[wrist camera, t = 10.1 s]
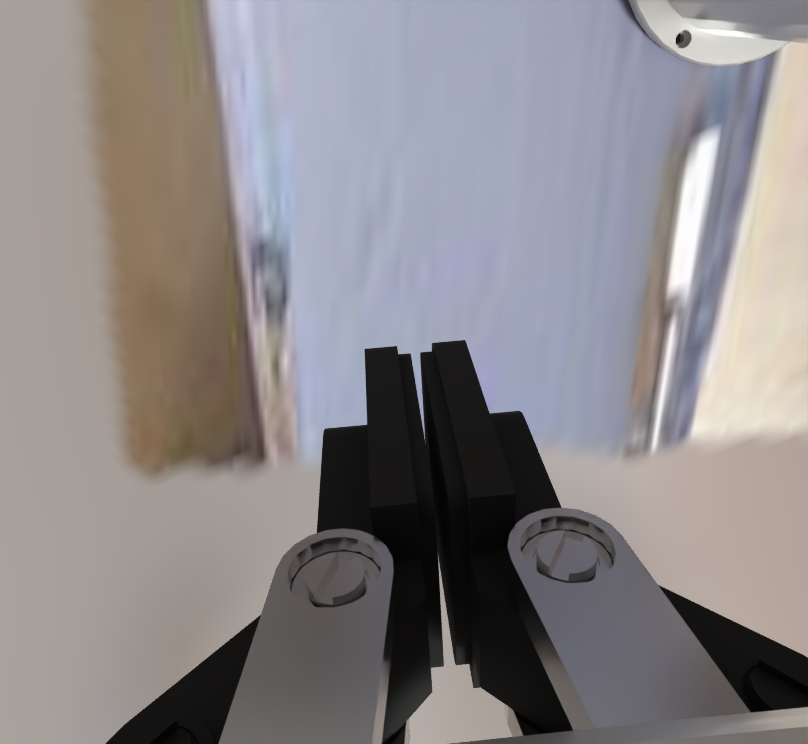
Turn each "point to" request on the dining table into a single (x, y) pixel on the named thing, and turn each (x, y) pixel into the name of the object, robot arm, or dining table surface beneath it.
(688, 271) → the dining table surface
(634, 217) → the dining table surface
